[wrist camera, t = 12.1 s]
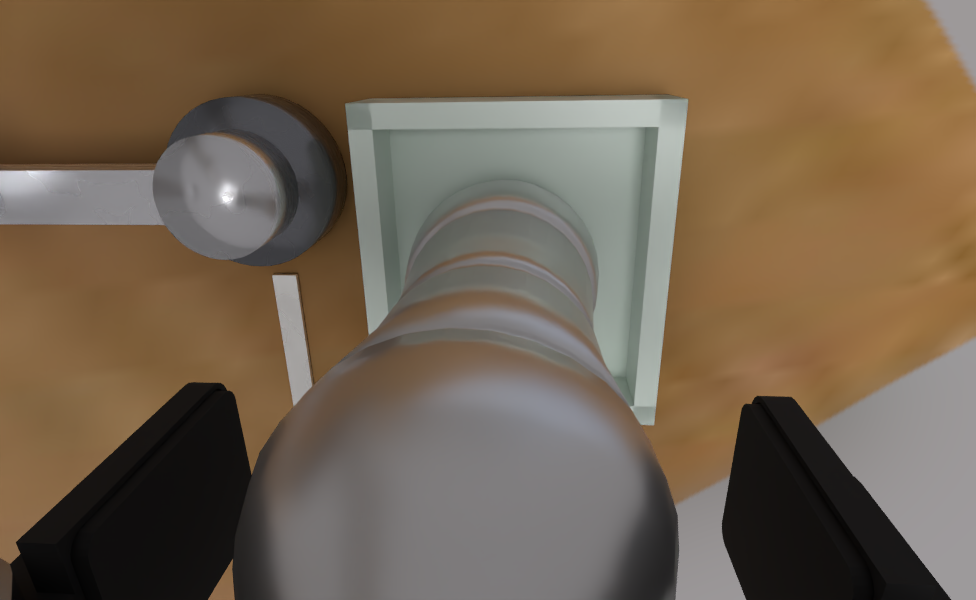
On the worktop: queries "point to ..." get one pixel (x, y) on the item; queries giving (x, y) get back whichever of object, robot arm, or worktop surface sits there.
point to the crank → (168, 193)
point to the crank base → (317, 203)
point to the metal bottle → (468, 436)
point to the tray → (550, 165)
